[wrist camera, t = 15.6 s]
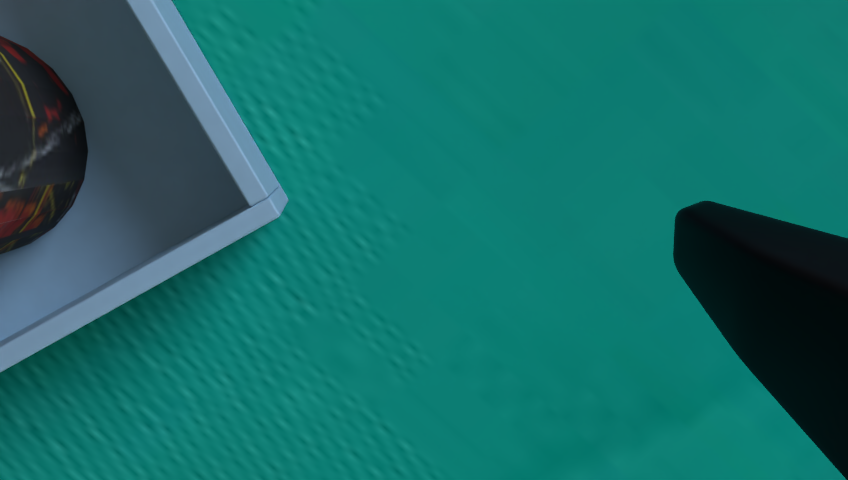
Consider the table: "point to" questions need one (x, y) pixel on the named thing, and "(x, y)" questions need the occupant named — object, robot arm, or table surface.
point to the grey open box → (129, 166)
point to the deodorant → (36, 147)
